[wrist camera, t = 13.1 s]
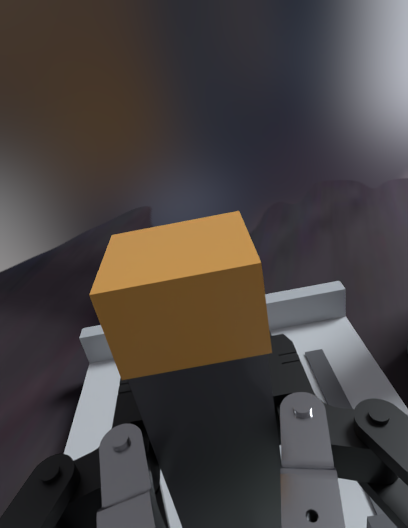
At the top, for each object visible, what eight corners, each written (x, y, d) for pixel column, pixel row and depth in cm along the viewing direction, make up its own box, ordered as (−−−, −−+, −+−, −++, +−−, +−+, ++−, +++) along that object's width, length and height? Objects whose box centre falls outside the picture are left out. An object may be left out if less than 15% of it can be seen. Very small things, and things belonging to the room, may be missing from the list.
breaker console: (684, 896, 10) (800, 870, 8) (-47, 1000, 11) (-173, 1009, 8) (339, 332, 31) (339, 275, 29) (102, 375, 32) (80, 323, 29)
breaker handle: (300, 588, 15) (261, 263, 8) (206, 603, 15) (89, 294, 8) (280, 503, 18) (239, 210, 11) (201, 517, 18) (111, 235, 11)
